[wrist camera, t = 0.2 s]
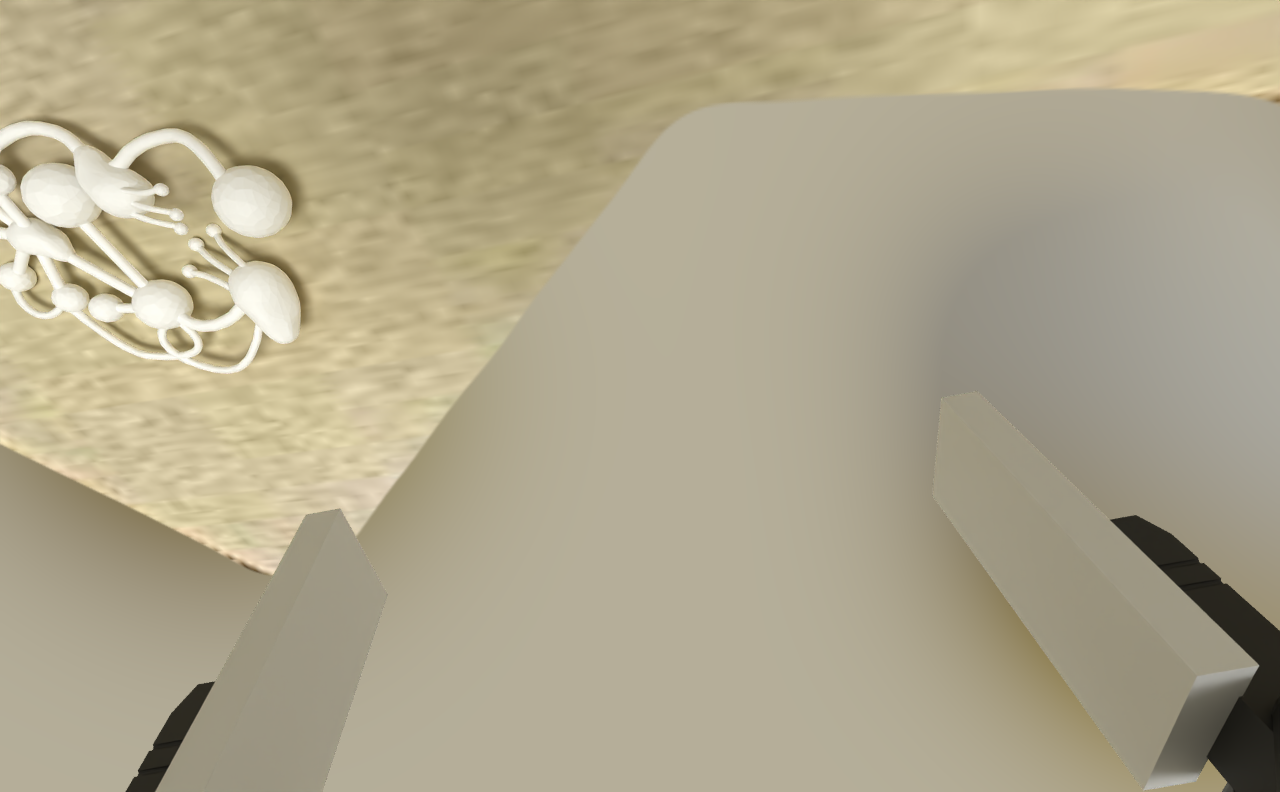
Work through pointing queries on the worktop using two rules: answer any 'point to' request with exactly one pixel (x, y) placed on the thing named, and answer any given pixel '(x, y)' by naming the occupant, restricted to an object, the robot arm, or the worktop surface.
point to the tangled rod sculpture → (104, 184)
